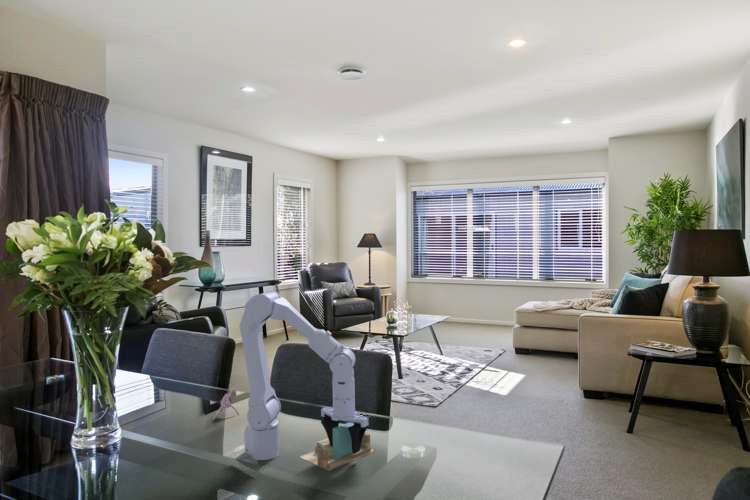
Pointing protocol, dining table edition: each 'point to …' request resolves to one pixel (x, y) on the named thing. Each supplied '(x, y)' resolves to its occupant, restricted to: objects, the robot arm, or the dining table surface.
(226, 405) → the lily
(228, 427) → the dining table surface
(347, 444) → the teal panel
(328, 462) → the birch rack
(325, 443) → the offcut stack
